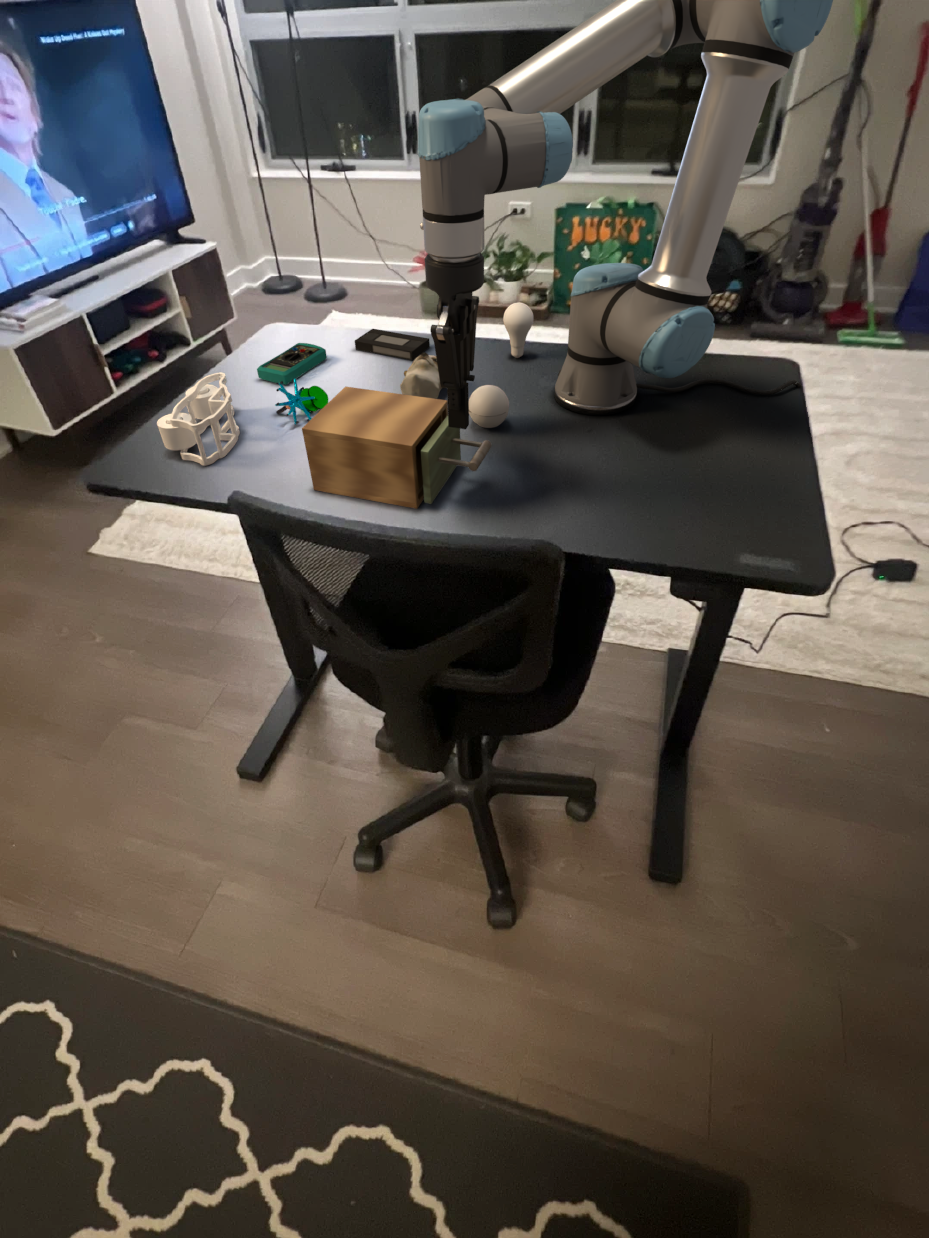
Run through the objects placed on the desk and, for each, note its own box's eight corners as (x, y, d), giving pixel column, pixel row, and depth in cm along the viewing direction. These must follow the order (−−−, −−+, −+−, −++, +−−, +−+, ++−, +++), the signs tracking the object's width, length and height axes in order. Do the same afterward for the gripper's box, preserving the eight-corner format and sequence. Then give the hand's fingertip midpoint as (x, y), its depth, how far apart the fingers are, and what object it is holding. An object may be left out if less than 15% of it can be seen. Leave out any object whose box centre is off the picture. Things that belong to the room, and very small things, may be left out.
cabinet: (450, 461, 119) (447, 400, 112) (417, 509, 109) (411, 445, 101) (353, 445, 124) (345, 386, 116) (313, 490, 113) (301, 428, 106)
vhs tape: (412, 361, 149) (412, 351, 147) (355, 350, 154) (354, 341, 152) (429, 347, 154) (429, 338, 152) (373, 337, 159) (372, 328, 157)
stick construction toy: (291, 421, 125) (274, 378, 124) (269, 435, 130) (252, 394, 129) (339, 413, 135) (323, 373, 133) (317, 427, 139) (301, 388, 138)
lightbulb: (497, 354, 150) (498, 301, 143) (523, 349, 152) (525, 296, 144) (510, 365, 146) (511, 310, 139) (536, 360, 148) (539, 305, 140)
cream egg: (475, 413, 131) (474, 375, 126) (513, 419, 129) (514, 380, 124) (457, 439, 124) (455, 400, 119) (497, 445, 122) (498, 405, 117)
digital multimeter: (329, 359, 151) (327, 345, 149) (286, 387, 141) (283, 372, 139) (301, 353, 153) (299, 339, 151) (257, 380, 144) (254, 366, 142)
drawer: (497, 465, 116) (498, 415, 110) (471, 511, 106) (470, 458, 100) (369, 445, 122) (363, 396, 116) (333, 486, 112) (324, 435, 106)
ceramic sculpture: (385, 363, 127) (408, 336, 138) (388, 410, 132) (410, 380, 144) (443, 368, 125) (462, 340, 136) (444, 415, 130) (462, 385, 142)
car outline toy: (205, 408, 135) (194, 371, 130) (260, 411, 134) (251, 373, 129) (156, 463, 121) (142, 423, 116) (218, 466, 119) (206, 426, 114)
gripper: (444, 237, 95) (450, 403, 111) (406, 266, 86) (418, 443, 102) (498, 241, 93) (496, 409, 109) (465, 272, 84) (468, 450, 100)
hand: (458, 425), depth 105 cm, fingers closed
